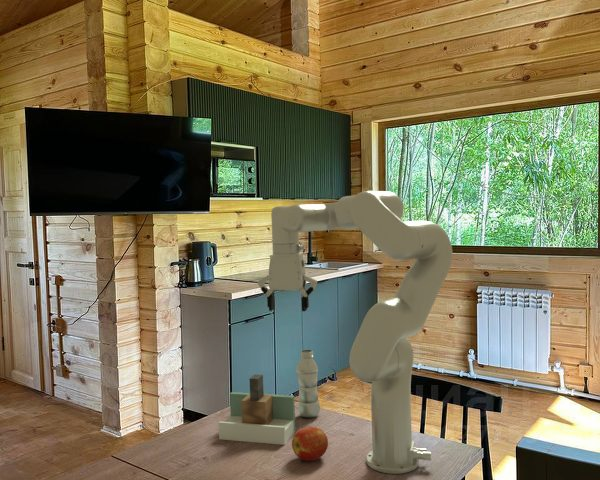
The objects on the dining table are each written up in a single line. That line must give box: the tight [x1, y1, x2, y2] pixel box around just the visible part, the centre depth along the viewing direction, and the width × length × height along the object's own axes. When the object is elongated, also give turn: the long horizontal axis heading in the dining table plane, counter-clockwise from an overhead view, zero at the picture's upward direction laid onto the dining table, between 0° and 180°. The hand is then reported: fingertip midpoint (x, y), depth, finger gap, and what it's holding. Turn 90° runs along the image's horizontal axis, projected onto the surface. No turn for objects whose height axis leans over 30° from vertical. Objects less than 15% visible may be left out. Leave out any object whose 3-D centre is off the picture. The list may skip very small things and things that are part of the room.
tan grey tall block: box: [241, 373, 273, 425], centre depth 152 cm, size 7×6×13 cm
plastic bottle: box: [296, 349, 321, 418], centre depth 165 cm, size 6×7×20 cm
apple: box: [291, 426, 329, 462], centre depth 136 cm, size 8×8×8 cm
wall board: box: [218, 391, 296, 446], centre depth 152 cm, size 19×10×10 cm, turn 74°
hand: (288, 310), depth 154 cm, fingers open, 9 cm apart
